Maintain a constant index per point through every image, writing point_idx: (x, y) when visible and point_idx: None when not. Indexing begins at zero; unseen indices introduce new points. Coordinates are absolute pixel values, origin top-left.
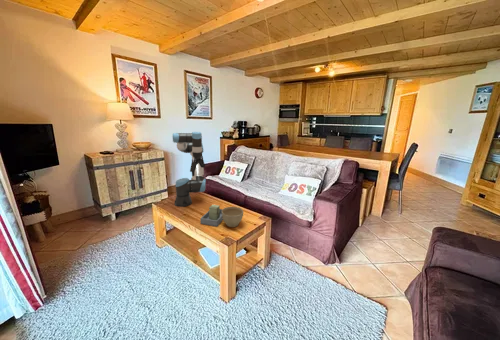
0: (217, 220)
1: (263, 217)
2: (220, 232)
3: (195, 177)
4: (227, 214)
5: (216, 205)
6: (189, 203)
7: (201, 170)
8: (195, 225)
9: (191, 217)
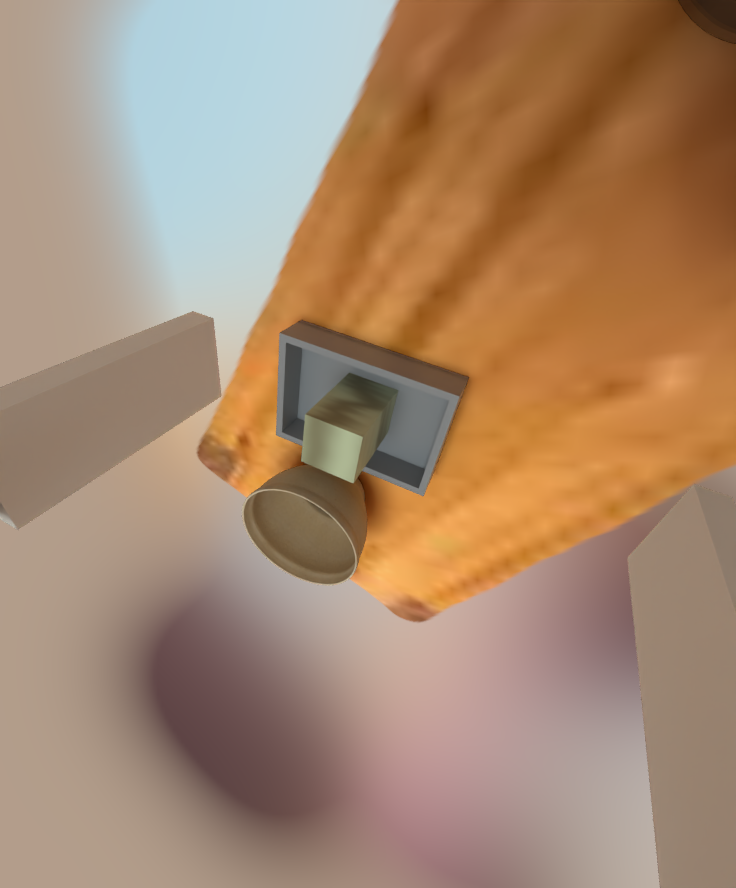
0: (284, 437)
1: (420, 615)
2: (256, 432)
3: (173, 420)
4: (350, 493)
5: (351, 463)
6: (723, 29)
7: (695, 679)
8: (276, 290)
9: (373, 217)
